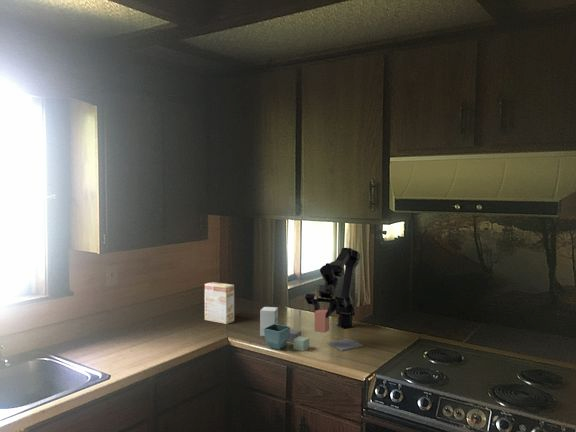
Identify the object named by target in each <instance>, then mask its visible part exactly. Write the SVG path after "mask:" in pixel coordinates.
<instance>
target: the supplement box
mask: <svg viewBox="0 0 576 432" xmlns="http://www.w3.org/2000/svg"><path fill="white" fill-rule="evenodd" d="M259 311H260V312H259V315H260V316H259V317H260V318H259V337H265V334H264V328H266V327H268V326H270V325H272V324H278V325H279V321H278V320H279V318H278V317H279V308H278V307H275V306H264V307H262V308H261V309H260V310H259Z"/></svg>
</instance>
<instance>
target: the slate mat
mask: <svg viewBox="0 0 576 432" xmlns="http://www.w3.org/2000/svg"><path fill="white" fill-rule="evenodd" d="M326 344H327V345H329V346H331V347H333V348H335V349H337V350H339V351H341V352H343V351H347V350H353V349H358V348H362V347H364V344H362V343H360V342H357V341H355V340H353V339H351V338H345V339H340V340H335V341H334V340H333V341H330V342H329V341H328V342H327V343H326Z"/></svg>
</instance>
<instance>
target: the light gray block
mask: <svg viewBox="0 0 576 432" xmlns="http://www.w3.org/2000/svg"><path fill="white" fill-rule="evenodd" d="M301 335H302V331H301V330H296V329H290V333H289V339H288V341H287V343H291V344H293V339H295V338H297V337H298V336H300V337H302V336H301Z"/></svg>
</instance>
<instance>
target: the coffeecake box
mask: <svg viewBox="0 0 576 432" xmlns="http://www.w3.org/2000/svg"><path fill="white" fill-rule="evenodd" d="M204 321H209V322H215V323H217V324H218V323H220V324H224V325H228V324H230V323H233V322H235V284H232V283H231V284H229V283H224V282H223V283H222V282H216V281H212V282H207V283H204Z"/></svg>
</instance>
